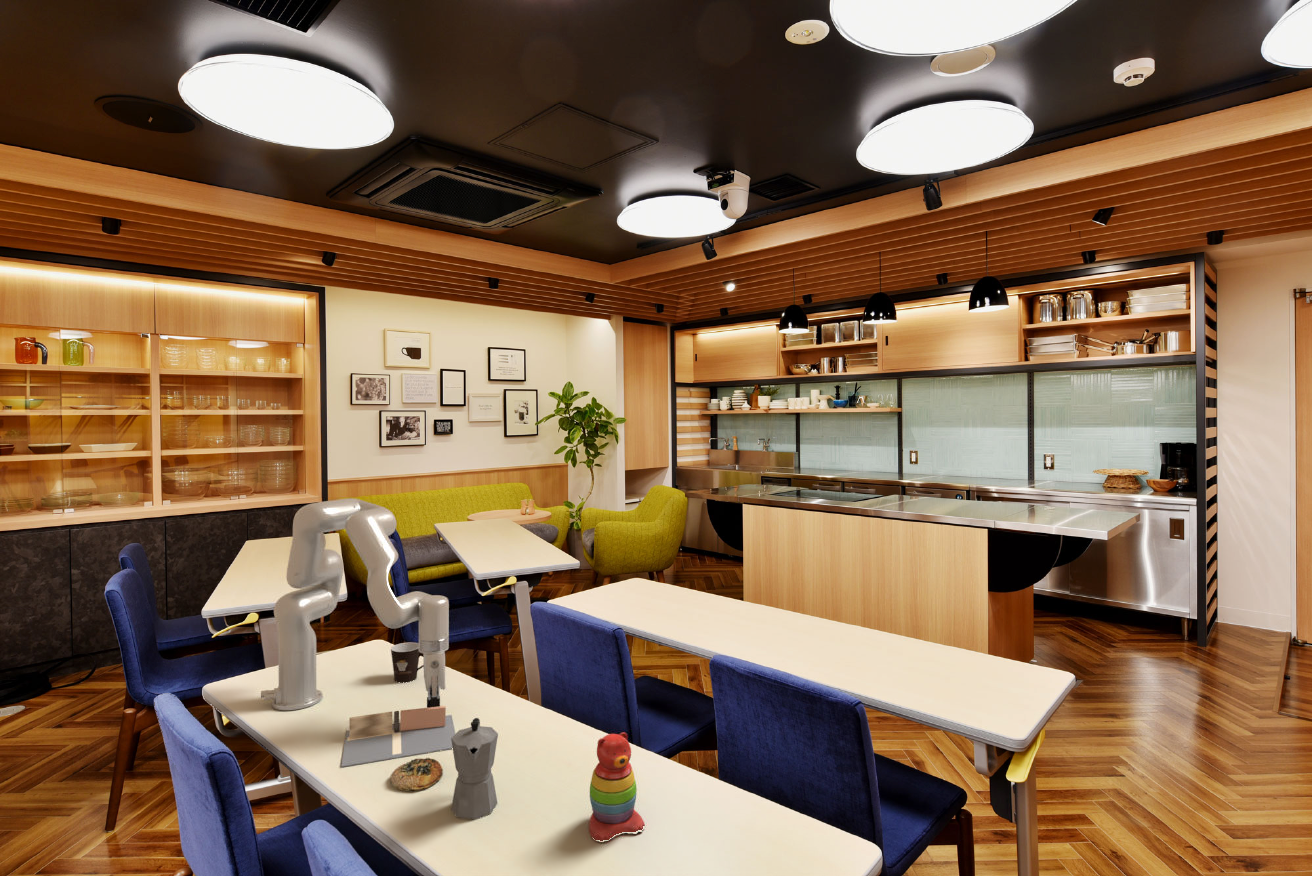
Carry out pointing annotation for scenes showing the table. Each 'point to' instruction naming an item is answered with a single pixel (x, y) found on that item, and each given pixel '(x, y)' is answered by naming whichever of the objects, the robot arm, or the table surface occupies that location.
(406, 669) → the coffee mug
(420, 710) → the folding fence panel
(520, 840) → the table surface
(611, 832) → the stacking bear
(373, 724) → the fixed fence section
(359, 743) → the card
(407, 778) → the bread roll
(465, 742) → the coffeepot
